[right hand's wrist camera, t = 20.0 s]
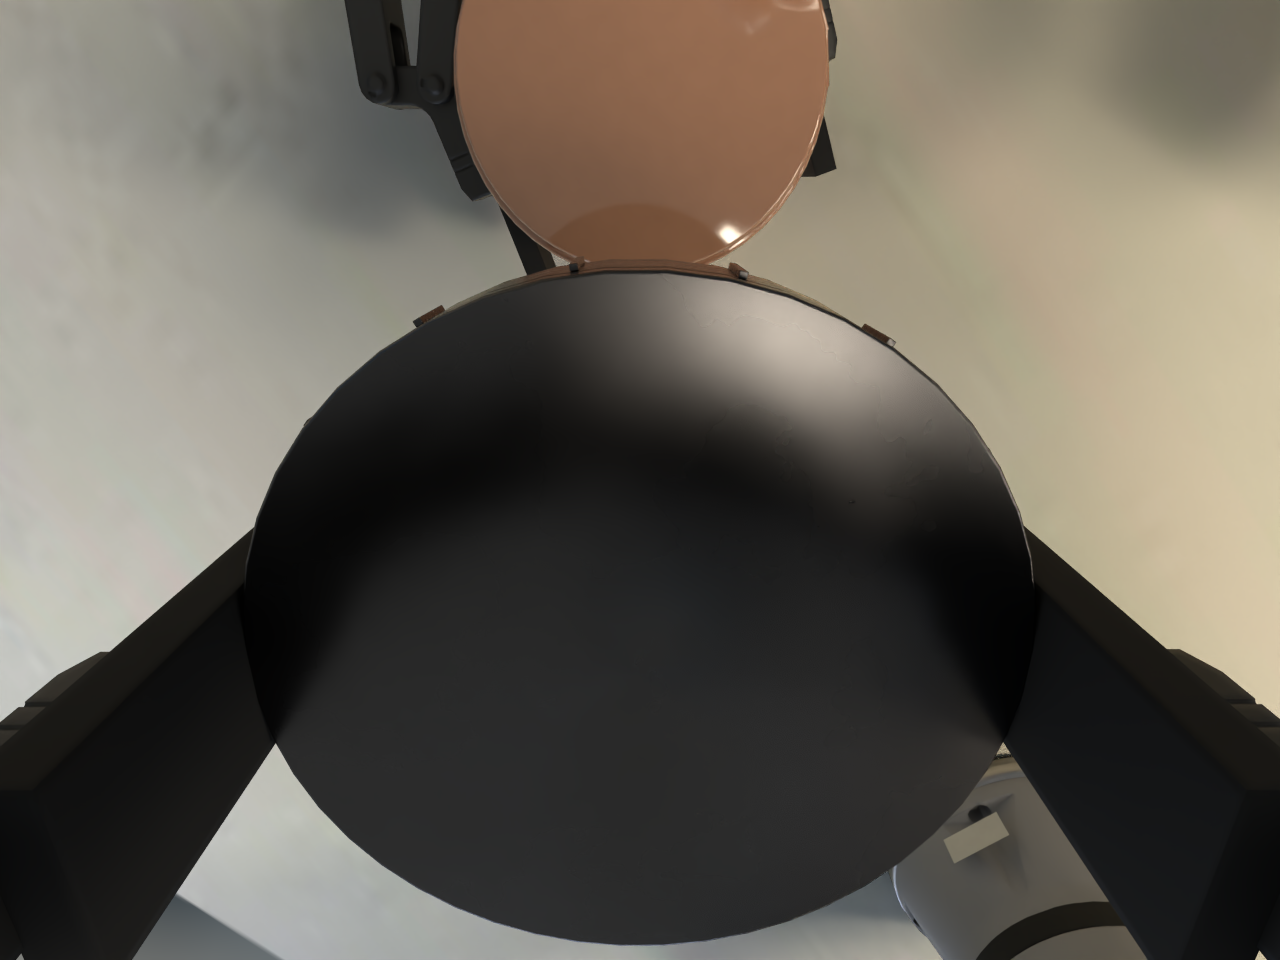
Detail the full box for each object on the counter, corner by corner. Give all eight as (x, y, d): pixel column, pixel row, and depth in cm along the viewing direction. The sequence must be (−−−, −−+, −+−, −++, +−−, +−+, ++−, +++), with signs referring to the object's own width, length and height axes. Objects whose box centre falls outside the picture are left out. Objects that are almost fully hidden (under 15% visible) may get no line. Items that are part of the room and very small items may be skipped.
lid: (245, 783, 13) (194, 860, 12) (358, 131, 9) (304, 119, 8) (816, 921, 14) (837, 1007, 13) (1123, 399, 11) (1205, 433, 9)
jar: (799, 146, 32) (916, 124, 19) (617, 287, 35) (605, 357, 21) (664, -77, 29) (690, -294, 16) (474, 94, 32) (353, 32, 18)
